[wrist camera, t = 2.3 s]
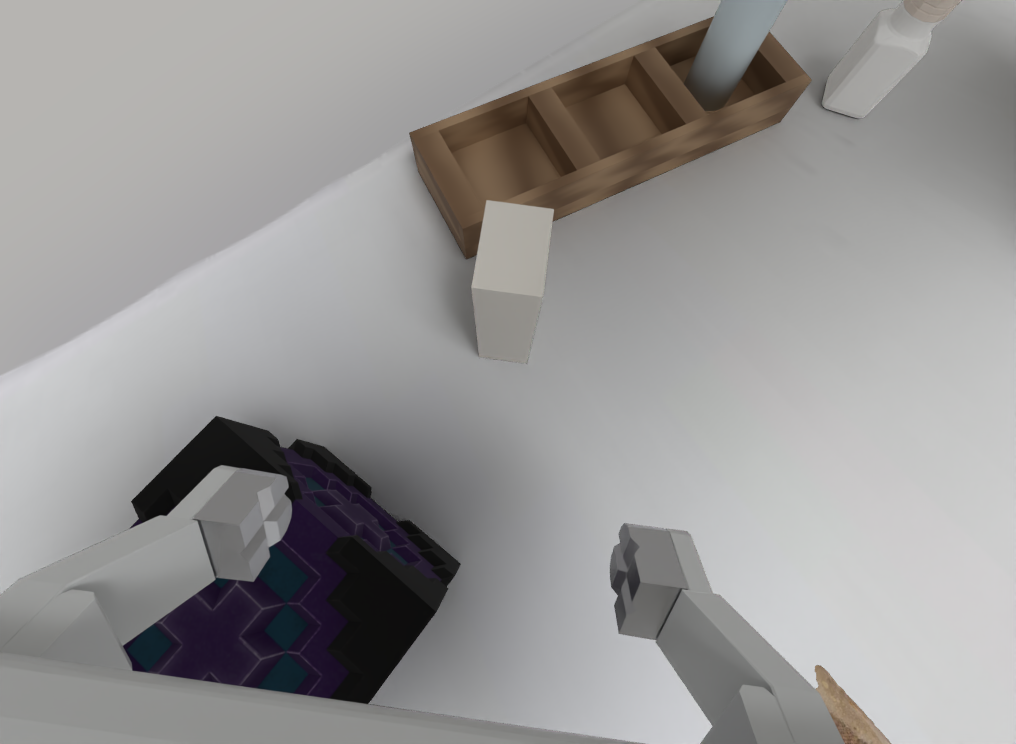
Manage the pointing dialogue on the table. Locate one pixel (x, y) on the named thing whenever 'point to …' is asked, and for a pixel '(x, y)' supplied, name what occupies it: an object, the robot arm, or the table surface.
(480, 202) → the rack
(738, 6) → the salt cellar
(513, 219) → the clay block
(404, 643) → the energy cube
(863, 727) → the fish fossil
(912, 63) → the pepper shaker
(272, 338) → the table surface
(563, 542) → the table surface
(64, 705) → the robot arm
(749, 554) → the table surface
